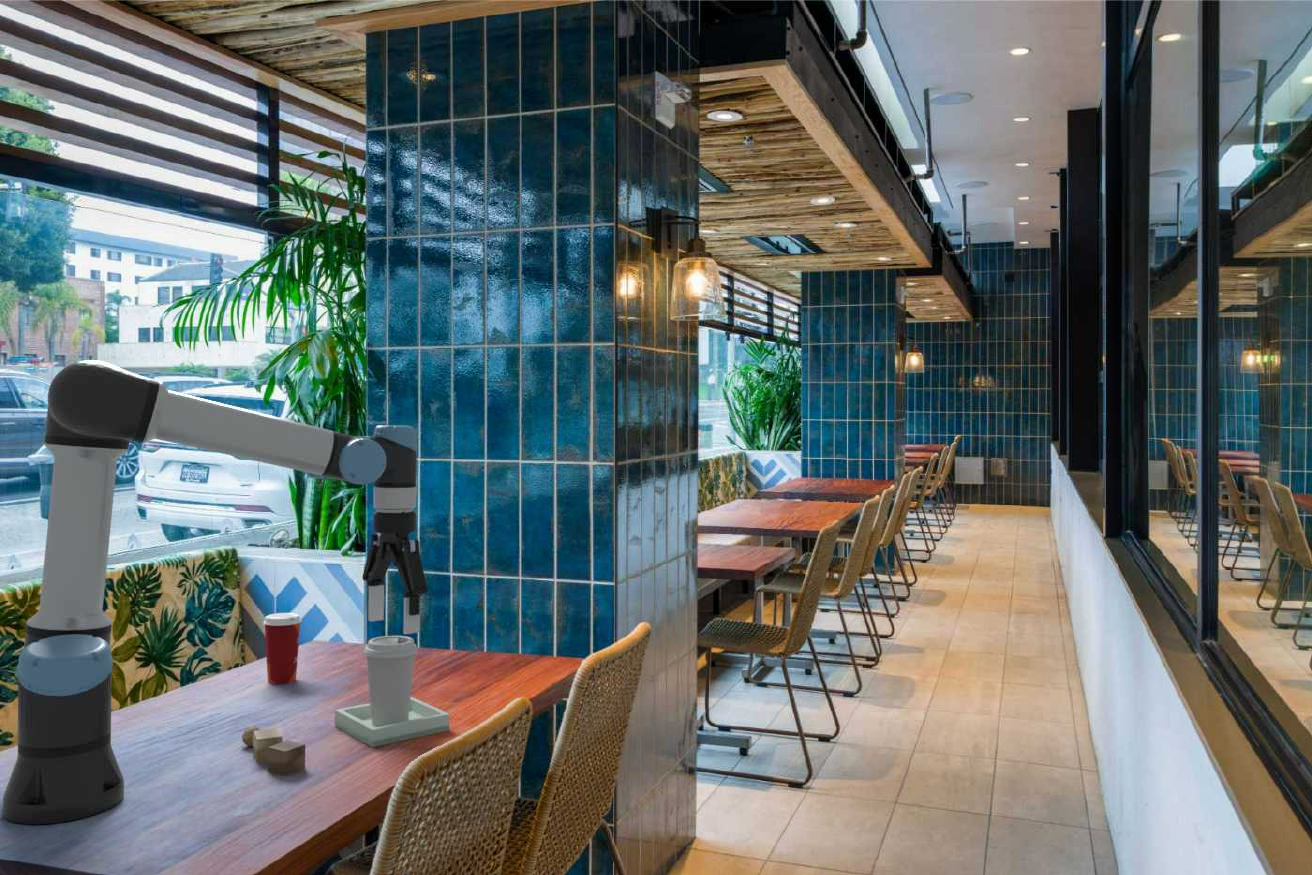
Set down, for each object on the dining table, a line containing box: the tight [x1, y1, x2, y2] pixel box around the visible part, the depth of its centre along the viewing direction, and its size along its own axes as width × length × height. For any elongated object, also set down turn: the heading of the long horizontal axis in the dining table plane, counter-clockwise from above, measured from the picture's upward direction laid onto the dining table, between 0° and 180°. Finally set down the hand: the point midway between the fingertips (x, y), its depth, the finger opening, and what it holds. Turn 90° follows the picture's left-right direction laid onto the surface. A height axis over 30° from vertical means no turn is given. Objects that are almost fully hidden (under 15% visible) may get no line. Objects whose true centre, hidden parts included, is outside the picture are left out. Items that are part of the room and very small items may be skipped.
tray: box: [334, 696, 451, 748], centre depth 182 cm, size 15×15×3 cm
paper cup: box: [263, 612, 303, 685], centre depth 213 cm, size 8×8×14 cm
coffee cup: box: [363, 635, 419, 727], centre depth 183 cm, size 10×10×15 cm
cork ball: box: [241, 726, 261, 747], centre depth 171 cm, size 3×3×3 cm
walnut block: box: [267, 739, 306, 777], centre depth 160 cm, size 4×4×4 cm
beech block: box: [252, 727, 284, 764], centre depth 166 cm, size 4×5×4 cm
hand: (393, 626), depth 182 cm, fingers open, 13 cm apart
